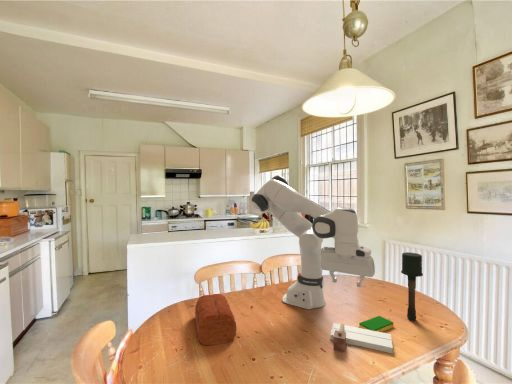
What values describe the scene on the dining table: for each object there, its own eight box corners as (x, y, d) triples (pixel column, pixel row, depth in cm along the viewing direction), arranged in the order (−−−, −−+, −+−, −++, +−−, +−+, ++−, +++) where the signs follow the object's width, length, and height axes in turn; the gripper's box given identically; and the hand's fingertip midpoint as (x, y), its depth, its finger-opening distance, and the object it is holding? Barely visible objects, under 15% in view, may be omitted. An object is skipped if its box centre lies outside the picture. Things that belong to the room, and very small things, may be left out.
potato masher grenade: (426, 325, 115) (426, 256, 115) (404, 322, 117) (404, 255, 117) (418, 315, 123) (418, 252, 123) (398, 314, 125) (398, 251, 125)
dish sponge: (358, 328, 113) (358, 322, 113) (379, 320, 120) (379, 315, 120) (373, 336, 107) (373, 330, 107) (394, 327, 113) (394, 322, 113)
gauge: (333, 350, 97) (333, 334, 97) (337, 332, 109) (337, 318, 109) (344, 352, 95) (344, 337, 95) (347, 334, 107) (347, 320, 107)
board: (330, 339, 103) (330, 334, 103) (333, 327, 113) (333, 322, 113) (392, 353, 95) (392, 347, 95) (390, 339, 104) (390, 334, 104)
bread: (226, 311, 128) (226, 289, 128) (238, 341, 102) (238, 314, 102) (194, 315, 124) (194, 293, 124) (198, 347, 98) (198, 319, 98)
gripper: (317, 247, 106) (318, 281, 105) (372, 253, 94) (373, 291, 94) (323, 244, 111) (323, 277, 111) (375, 250, 99) (376, 286, 99)
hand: (346, 284), depth 102 cm, fingers open, 8 cm apart
